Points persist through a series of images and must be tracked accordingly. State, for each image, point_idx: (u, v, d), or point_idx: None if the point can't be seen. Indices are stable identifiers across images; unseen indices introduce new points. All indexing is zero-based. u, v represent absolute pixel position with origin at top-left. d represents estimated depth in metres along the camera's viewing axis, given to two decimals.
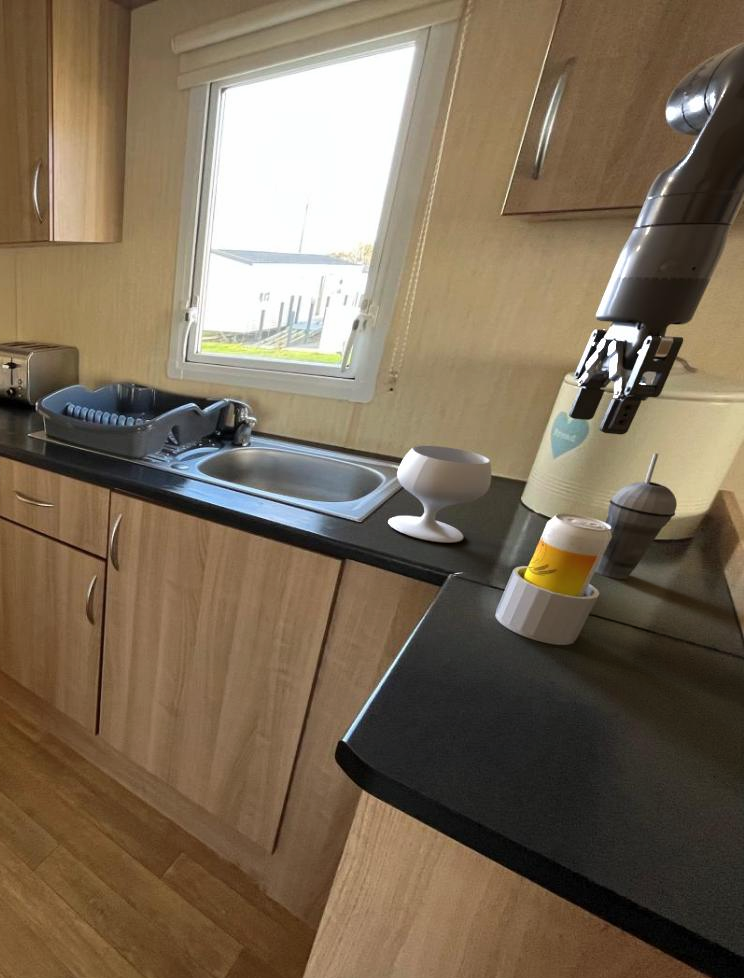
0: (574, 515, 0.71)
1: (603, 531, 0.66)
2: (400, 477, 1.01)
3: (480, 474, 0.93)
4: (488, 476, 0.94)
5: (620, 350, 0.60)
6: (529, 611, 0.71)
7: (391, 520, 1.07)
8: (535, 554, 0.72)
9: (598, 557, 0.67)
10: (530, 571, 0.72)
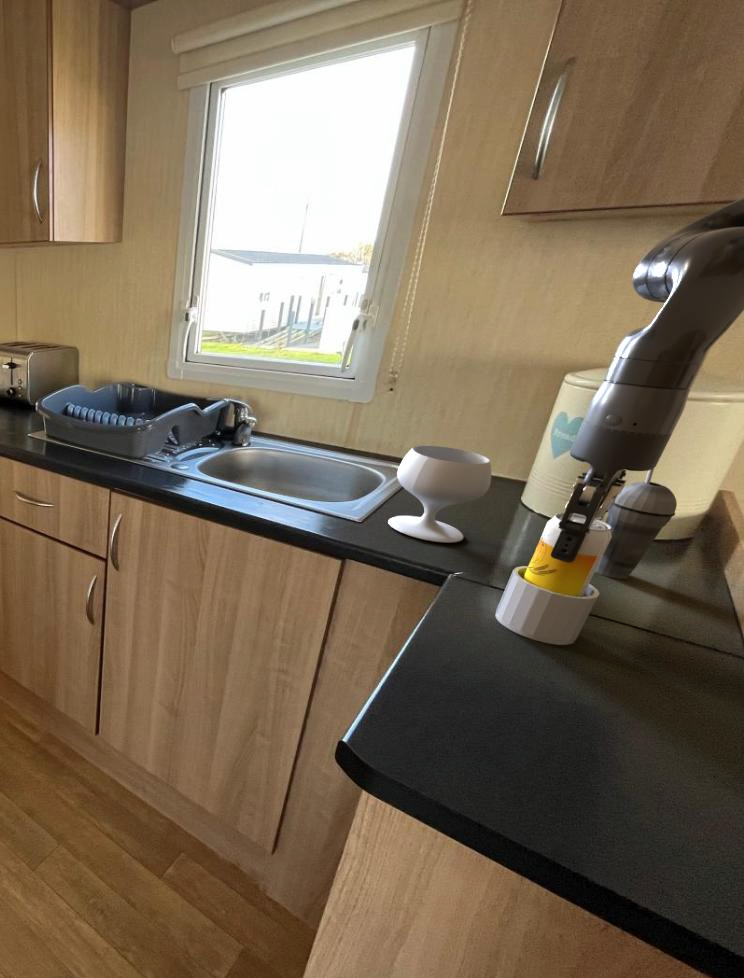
0: (574, 515, 0.71)
1: (603, 531, 0.66)
2: (400, 477, 1.01)
3: (480, 474, 0.93)
4: (488, 476, 0.94)
5: None
6: (529, 611, 0.71)
7: (391, 520, 1.07)
8: (535, 554, 0.72)
9: (598, 557, 0.67)
10: (530, 571, 0.72)
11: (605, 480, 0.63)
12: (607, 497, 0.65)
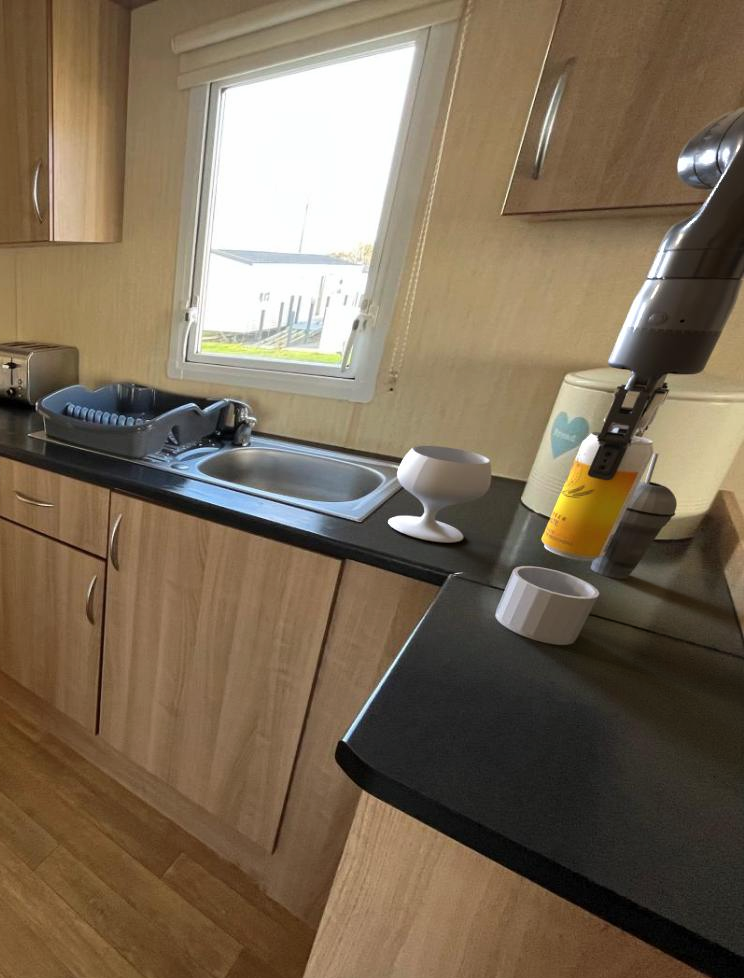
0: None
1: (645, 445, 0.62)
2: (400, 477, 1.01)
3: (480, 474, 0.93)
4: (488, 476, 0.94)
5: None
6: (529, 611, 0.71)
7: (391, 520, 1.07)
8: (569, 477, 0.68)
9: (639, 474, 0.63)
10: (564, 495, 0.68)
11: (649, 385, 0.59)
12: (650, 406, 0.60)
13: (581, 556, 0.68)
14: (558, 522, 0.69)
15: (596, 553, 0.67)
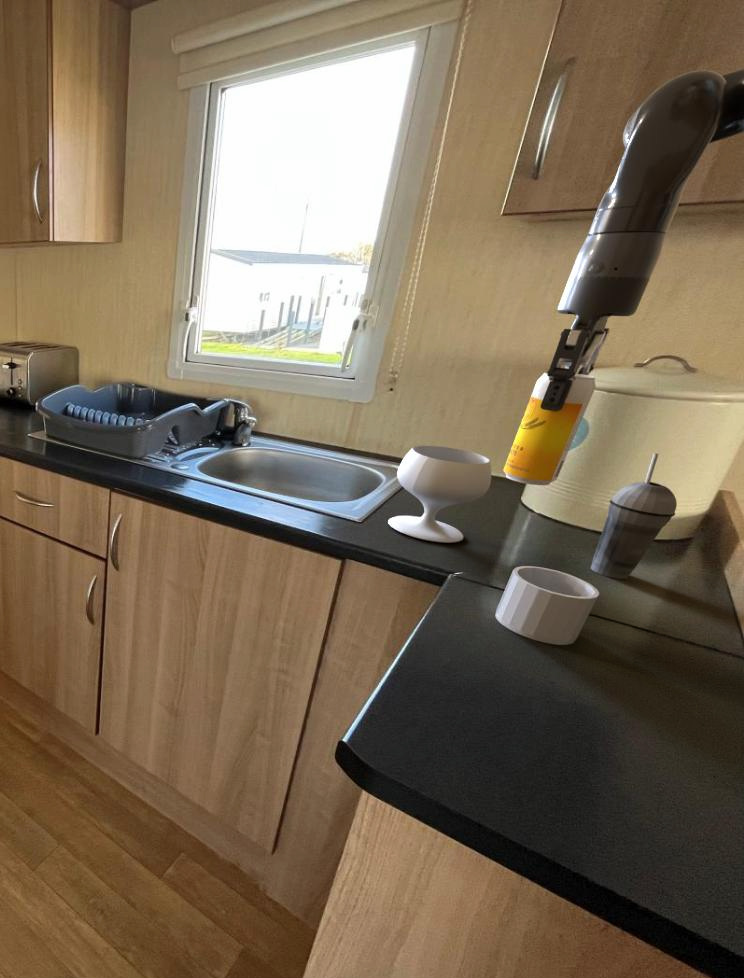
0: None
1: (588, 379, 0.72)
2: (400, 477, 1.01)
3: (480, 474, 0.93)
4: (488, 476, 0.94)
5: None
6: (529, 611, 0.71)
7: (391, 520, 1.07)
8: (526, 412, 0.78)
9: (583, 405, 0.73)
10: (521, 428, 0.78)
11: (589, 326, 0.69)
12: (591, 344, 0.70)
13: (536, 481, 0.78)
14: (517, 452, 0.79)
15: (548, 477, 0.77)
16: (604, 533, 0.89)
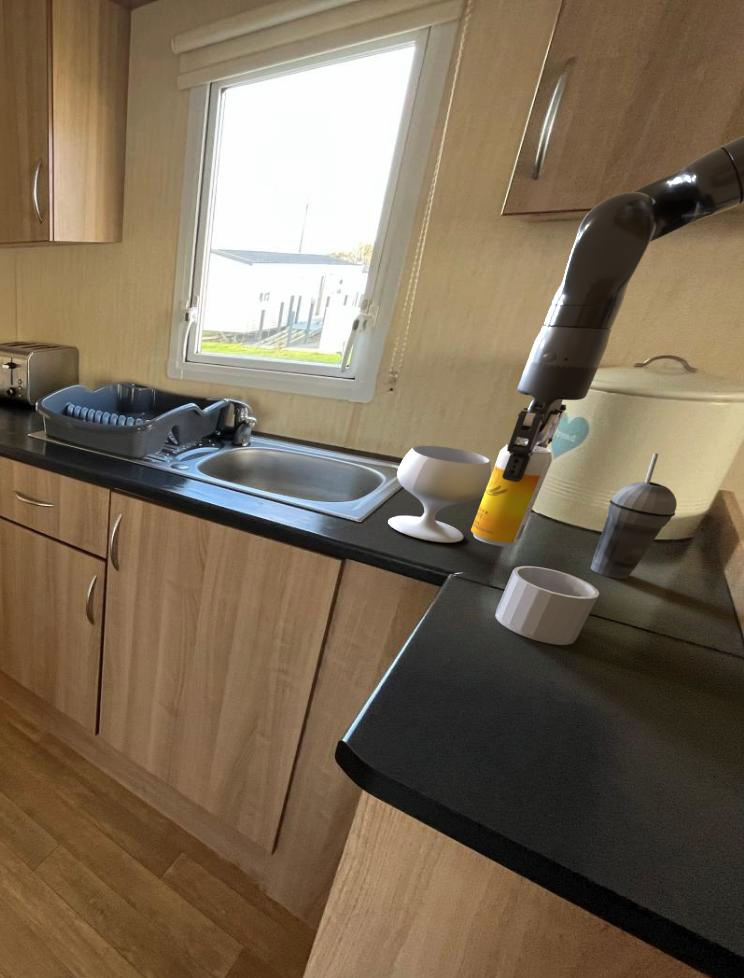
0: (523, 444, 0.83)
1: (544, 454, 0.79)
2: (400, 477, 1.01)
3: (480, 474, 0.93)
4: (488, 476, 0.94)
5: None
6: (529, 611, 0.71)
7: (391, 520, 1.07)
8: (490, 479, 0.84)
9: (541, 477, 0.80)
10: (486, 493, 0.85)
11: (544, 408, 0.76)
12: (547, 424, 0.77)
13: (499, 542, 0.84)
14: (482, 515, 0.85)
15: (511, 540, 0.84)
16: (604, 533, 0.89)
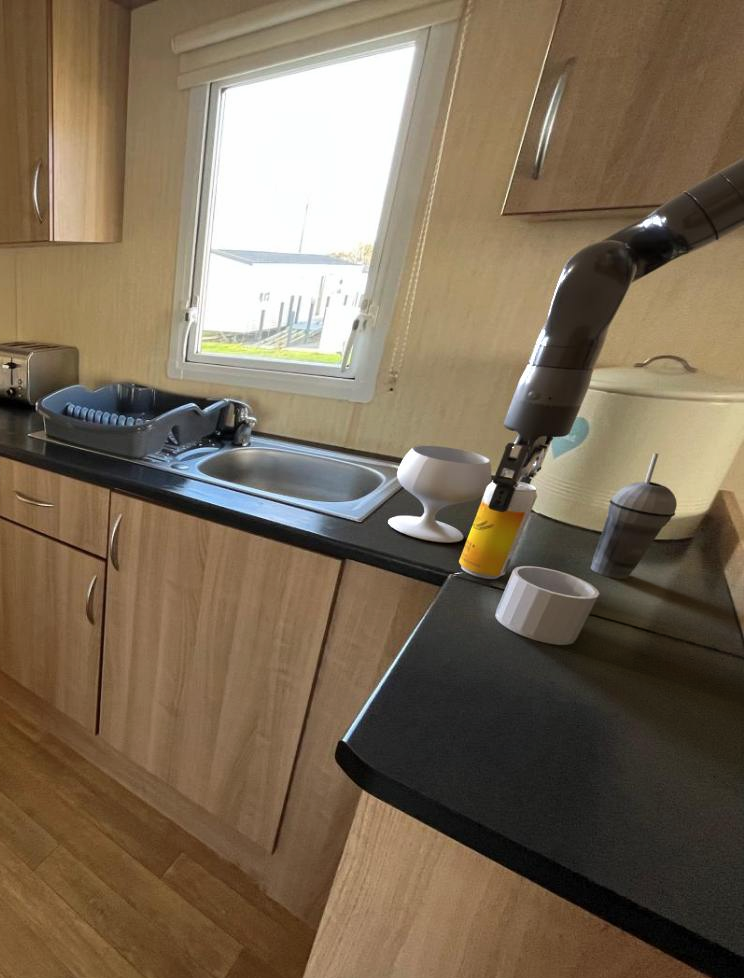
0: None
1: (529, 491, 0.81)
2: (400, 477, 1.01)
3: (480, 474, 0.93)
4: (488, 476, 0.94)
5: None
6: (529, 611, 0.71)
7: (391, 520, 1.07)
8: (477, 513, 0.87)
9: (526, 513, 0.82)
10: (473, 527, 0.87)
11: (529, 443, 0.78)
12: None
13: (486, 575, 0.87)
14: (469, 548, 0.88)
15: (497, 573, 0.86)
16: (604, 533, 0.89)
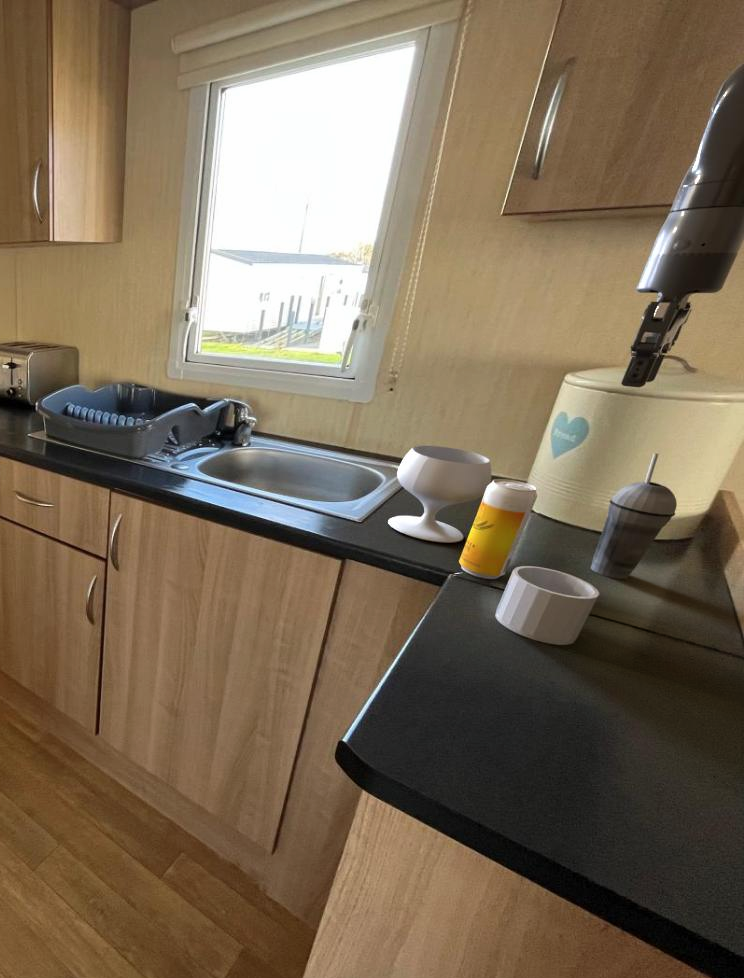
0: (509, 480, 0.85)
1: (529, 491, 0.81)
2: (400, 477, 1.01)
3: (480, 474, 0.93)
4: (488, 476, 0.94)
5: None
6: (529, 611, 0.71)
7: (391, 520, 1.07)
8: (477, 513, 0.87)
9: (526, 513, 0.82)
10: (473, 527, 0.87)
11: (675, 302, 0.68)
12: None
13: (486, 575, 0.87)
14: (469, 548, 0.88)
15: (497, 573, 0.86)
16: (604, 533, 0.89)
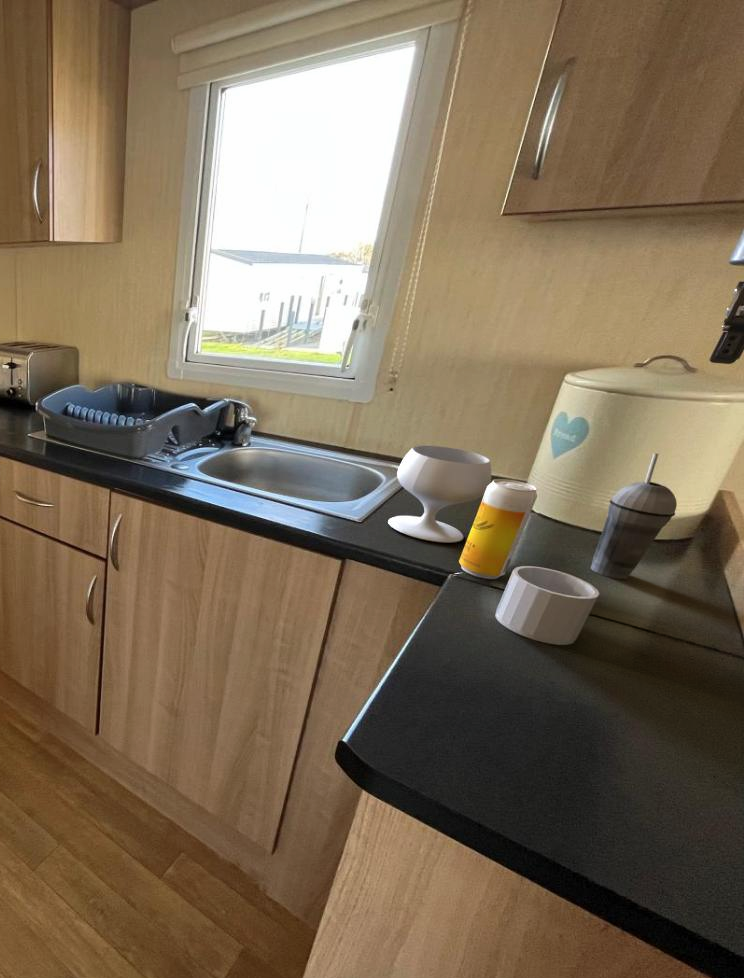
0: (509, 480, 0.85)
1: (529, 491, 0.81)
2: (400, 477, 1.01)
3: (480, 474, 0.93)
4: (488, 476, 0.94)
5: (740, 289, 0.68)
6: (529, 611, 0.71)
7: (391, 520, 1.07)
8: (477, 513, 0.87)
9: (526, 513, 0.82)
10: (473, 527, 0.87)
11: None
12: None
13: (486, 575, 0.87)
14: (469, 548, 0.88)
15: (497, 573, 0.86)
16: (604, 533, 0.89)
